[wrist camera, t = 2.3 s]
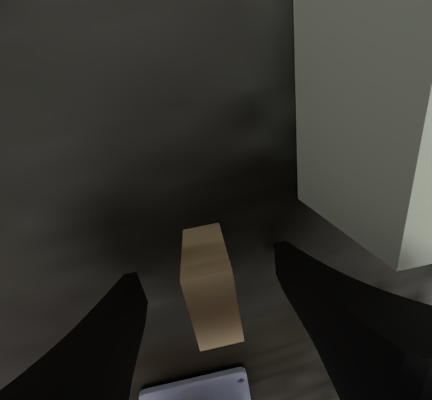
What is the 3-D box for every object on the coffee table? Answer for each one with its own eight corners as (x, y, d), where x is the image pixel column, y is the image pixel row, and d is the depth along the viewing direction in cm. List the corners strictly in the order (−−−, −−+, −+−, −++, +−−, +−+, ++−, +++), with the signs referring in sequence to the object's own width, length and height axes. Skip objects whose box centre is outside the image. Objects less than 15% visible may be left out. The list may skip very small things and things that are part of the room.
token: (228, 278, 13) (244, 341, 9) (197, 285, 13) (200, 351, 9) (218, 222, 12) (232, 269, 8) (182, 229, 12) (179, 281, 8)
